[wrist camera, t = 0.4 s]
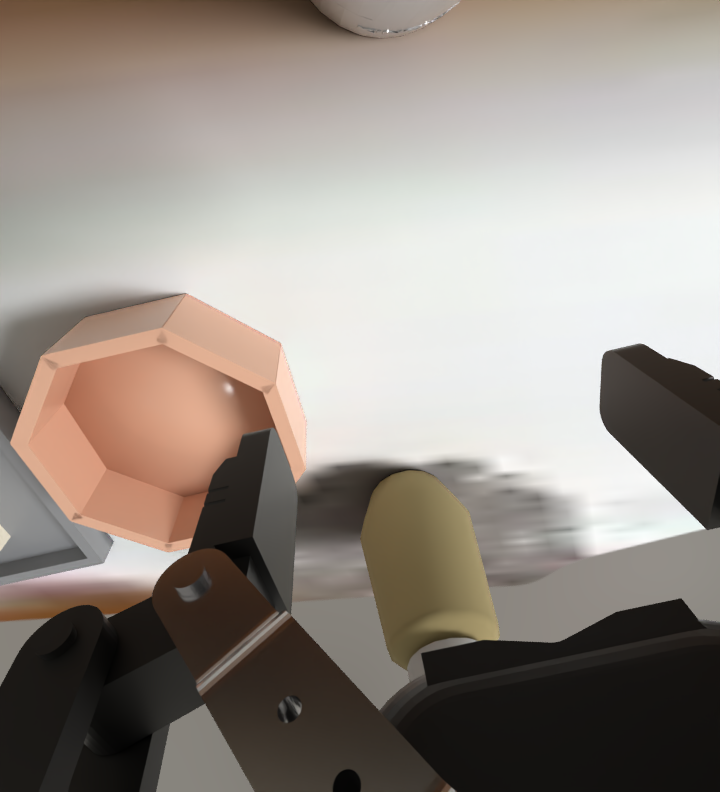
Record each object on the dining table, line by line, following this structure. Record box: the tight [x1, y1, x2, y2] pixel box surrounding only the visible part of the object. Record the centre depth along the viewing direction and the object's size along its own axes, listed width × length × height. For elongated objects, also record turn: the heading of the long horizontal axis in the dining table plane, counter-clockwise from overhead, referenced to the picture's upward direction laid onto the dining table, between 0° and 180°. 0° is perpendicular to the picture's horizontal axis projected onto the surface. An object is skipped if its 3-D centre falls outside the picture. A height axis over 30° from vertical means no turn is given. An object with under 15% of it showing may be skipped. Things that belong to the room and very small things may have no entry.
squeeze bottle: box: [360, 470, 500, 682], centre depth 28 cm, size 8×8×18 cm
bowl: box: [10, 294, 307, 552], centre depth 28 cm, size 15×15×5 cm
